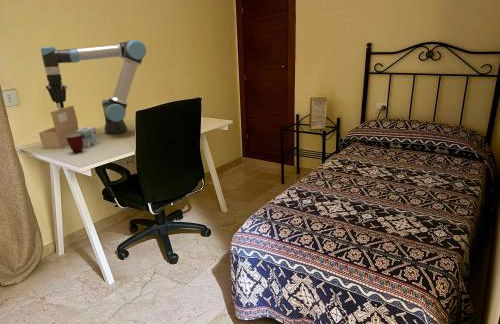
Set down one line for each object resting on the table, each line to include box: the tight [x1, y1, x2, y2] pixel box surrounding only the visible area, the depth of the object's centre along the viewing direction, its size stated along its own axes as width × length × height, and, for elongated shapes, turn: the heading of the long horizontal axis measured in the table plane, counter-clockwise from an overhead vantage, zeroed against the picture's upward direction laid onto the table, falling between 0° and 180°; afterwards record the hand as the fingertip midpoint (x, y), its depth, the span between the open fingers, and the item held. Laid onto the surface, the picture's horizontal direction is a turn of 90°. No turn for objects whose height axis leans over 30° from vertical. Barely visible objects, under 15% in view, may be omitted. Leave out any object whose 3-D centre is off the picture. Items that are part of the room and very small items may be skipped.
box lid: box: [50, 105, 79, 132], centre depth 214 cm, size 12×20×1 cm
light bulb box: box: [76, 126, 99, 149], centre depth 212 cm, size 11×7×11 cm, turn 168°
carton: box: [38, 124, 79, 149], centre depth 219 cm, size 12×20×10 cm, turn 170°
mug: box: [67, 134, 83, 154], centre depth 201 cm, size 10×8×10 cm
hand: (62, 113), depth 213 cm, fingers closed
